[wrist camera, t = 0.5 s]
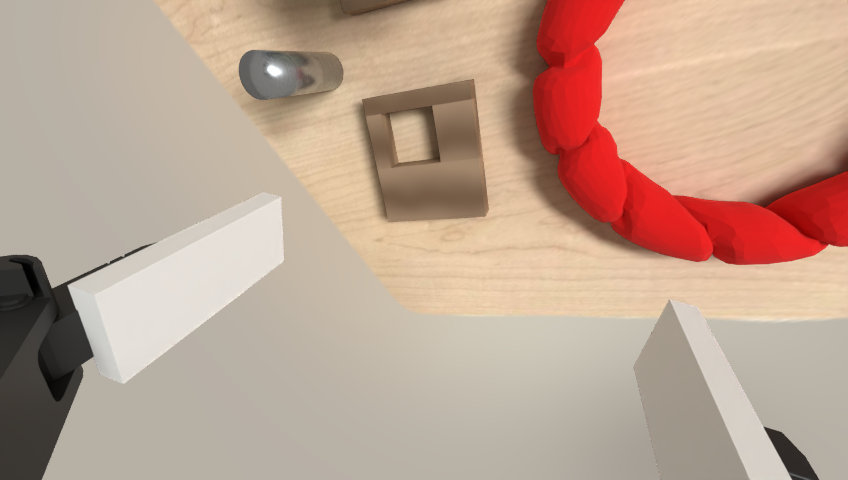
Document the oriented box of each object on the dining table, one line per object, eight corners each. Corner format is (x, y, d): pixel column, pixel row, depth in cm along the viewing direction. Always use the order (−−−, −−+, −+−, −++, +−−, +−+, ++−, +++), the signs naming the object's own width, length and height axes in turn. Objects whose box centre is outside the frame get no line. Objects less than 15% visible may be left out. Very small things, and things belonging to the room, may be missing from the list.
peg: (307, 55, 38) (232, 55, 29) (338, 48, 36) (269, 45, 28) (317, 93, 39) (248, 102, 30) (347, 87, 38) (283, 96, 29)
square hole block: (371, 97, 37) (361, 99, 36) (473, 79, 34) (469, 80, 32) (395, 215, 42) (388, 222, 40) (488, 209, 38) (485, 216, 37)
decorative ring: (597, 311, 34) (1232, 218, 19) (464, -52, 27) (1354, -679, 12) (597, 271, 40) (1083, 175, 25) (489, -35, 33) (1099, -436, 18)
